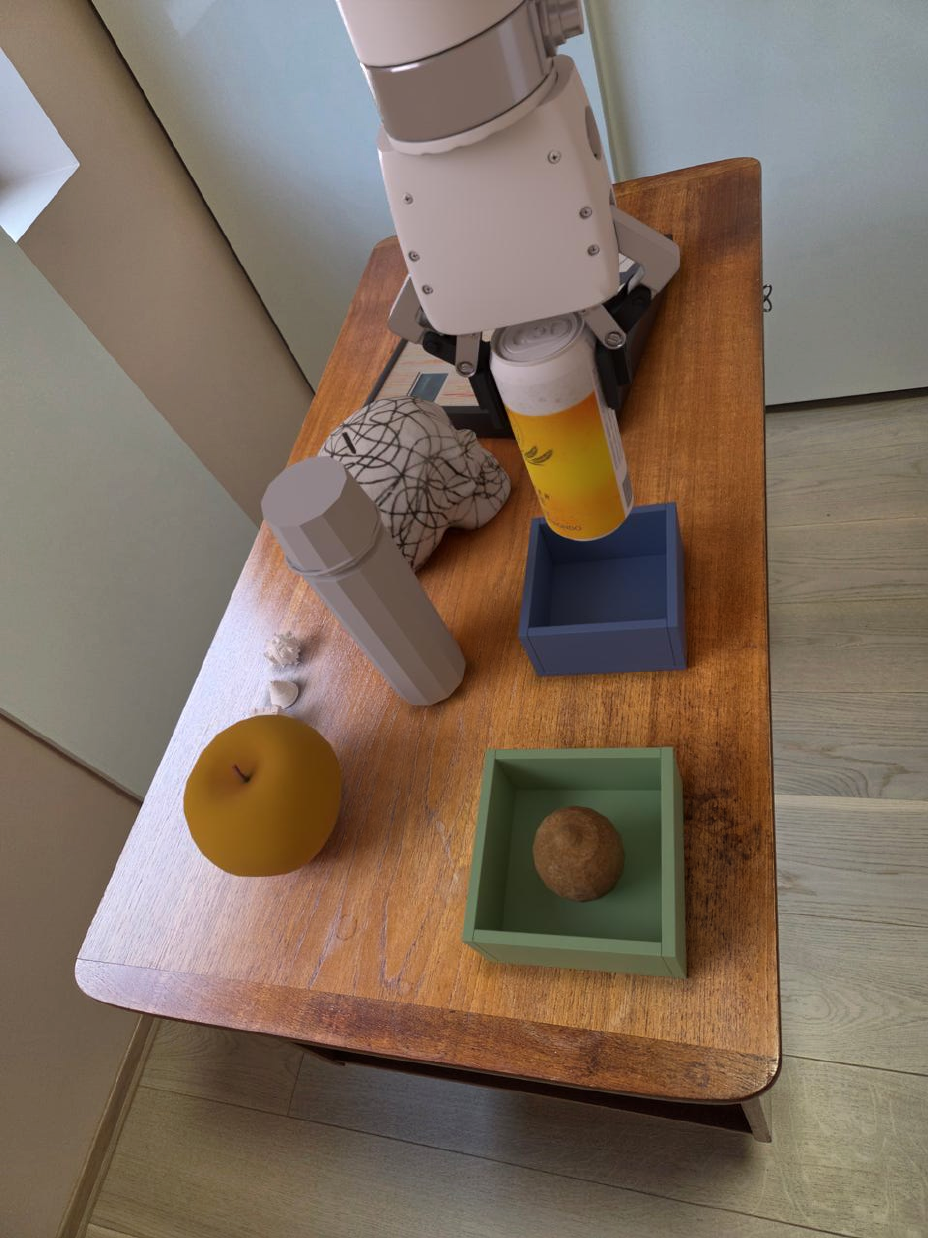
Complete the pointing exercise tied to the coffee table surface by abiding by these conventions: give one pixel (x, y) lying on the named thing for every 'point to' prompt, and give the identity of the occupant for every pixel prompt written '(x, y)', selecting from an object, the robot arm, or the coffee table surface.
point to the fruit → (578, 854)
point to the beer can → (563, 424)
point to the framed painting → (444, 386)
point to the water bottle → (362, 577)
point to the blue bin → (606, 597)
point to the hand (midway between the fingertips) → (557, 400)
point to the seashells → (281, 692)
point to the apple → (263, 796)
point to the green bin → (563, 929)
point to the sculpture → (419, 472)
